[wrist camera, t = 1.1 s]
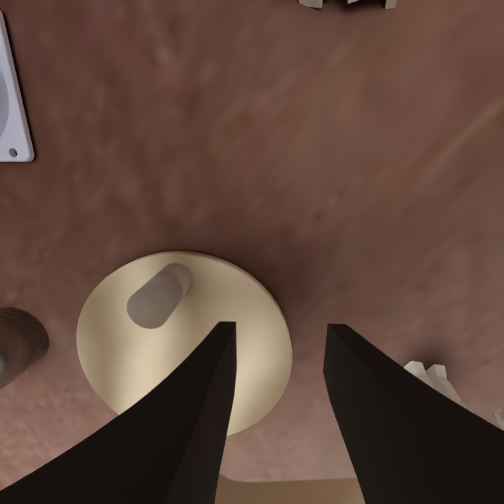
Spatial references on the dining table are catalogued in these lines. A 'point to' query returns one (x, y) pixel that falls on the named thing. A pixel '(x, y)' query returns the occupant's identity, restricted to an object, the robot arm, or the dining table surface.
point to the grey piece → (317, 0)
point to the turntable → (182, 330)
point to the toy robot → (446, 386)
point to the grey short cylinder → (19, 343)
